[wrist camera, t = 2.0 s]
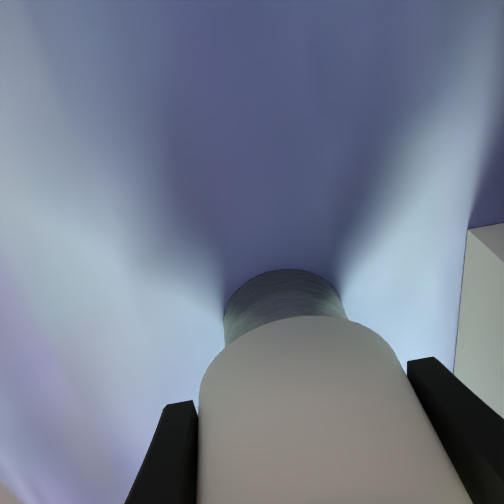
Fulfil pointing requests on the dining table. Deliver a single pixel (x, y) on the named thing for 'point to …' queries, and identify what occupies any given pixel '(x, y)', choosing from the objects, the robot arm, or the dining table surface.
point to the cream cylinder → (317, 422)
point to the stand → (279, 301)
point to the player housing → (483, 317)
